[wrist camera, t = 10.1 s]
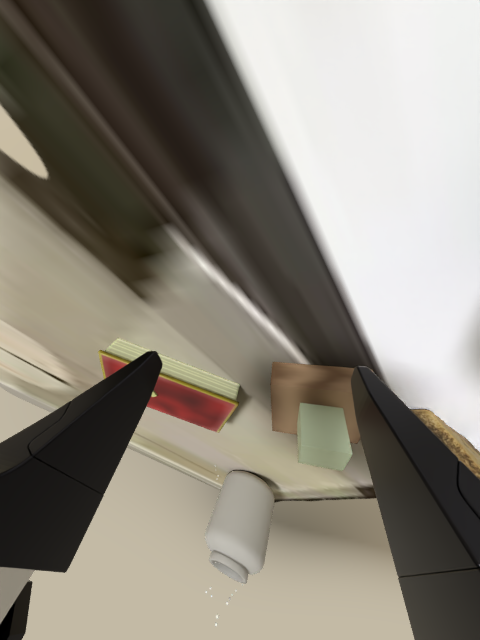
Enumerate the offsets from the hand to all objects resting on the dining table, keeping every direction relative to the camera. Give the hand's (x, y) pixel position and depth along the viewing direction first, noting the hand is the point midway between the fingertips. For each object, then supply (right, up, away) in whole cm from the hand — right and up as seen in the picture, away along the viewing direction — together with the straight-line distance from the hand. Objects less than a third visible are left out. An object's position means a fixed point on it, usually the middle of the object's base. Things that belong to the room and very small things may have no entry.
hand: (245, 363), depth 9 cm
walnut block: (+11, -8, +20) cm, 25 cm away
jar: (+1, -43, +50) cm, 66 cm away
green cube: (+10, -11, +17) cm, 23 cm away
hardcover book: (-11, -8, +26) cm, 30 cm away
